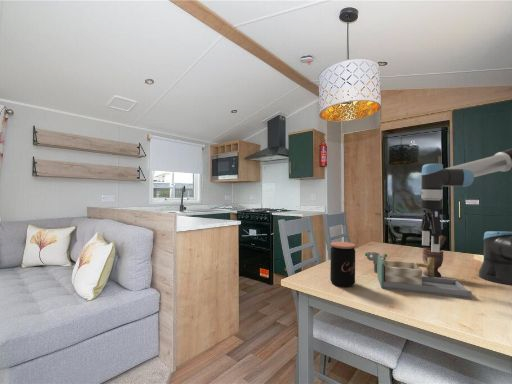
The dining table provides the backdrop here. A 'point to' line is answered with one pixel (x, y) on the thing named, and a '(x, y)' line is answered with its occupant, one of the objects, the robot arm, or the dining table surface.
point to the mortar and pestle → (436, 255)
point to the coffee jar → (342, 264)
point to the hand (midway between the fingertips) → (430, 248)
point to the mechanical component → (375, 258)
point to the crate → (406, 271)
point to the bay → (426, 285)
